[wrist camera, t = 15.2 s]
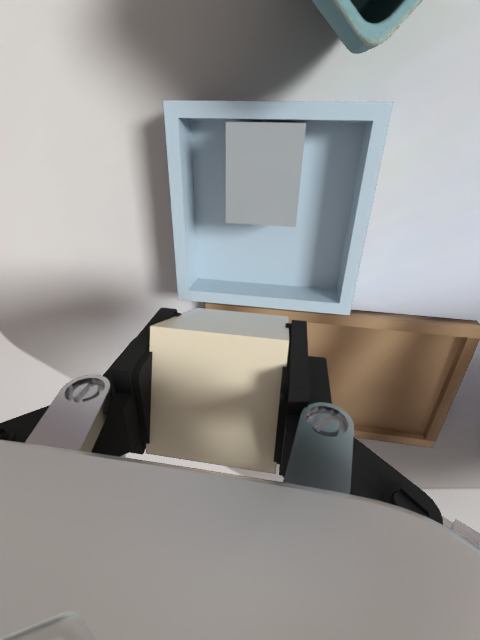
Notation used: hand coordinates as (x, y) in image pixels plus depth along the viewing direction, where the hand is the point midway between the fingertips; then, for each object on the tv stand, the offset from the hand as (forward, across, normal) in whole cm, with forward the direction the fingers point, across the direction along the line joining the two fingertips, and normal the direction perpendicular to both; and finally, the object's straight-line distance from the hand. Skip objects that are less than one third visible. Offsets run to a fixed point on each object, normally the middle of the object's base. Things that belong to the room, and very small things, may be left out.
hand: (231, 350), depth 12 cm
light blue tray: (+13, 0, -3) cm, 14 cm away
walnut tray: (+13, -6, +10) cm, 18 cm away
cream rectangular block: (+2, 0, +1) cm, 2 cm away
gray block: (+11, 0, -8) cm, 13 cm away
